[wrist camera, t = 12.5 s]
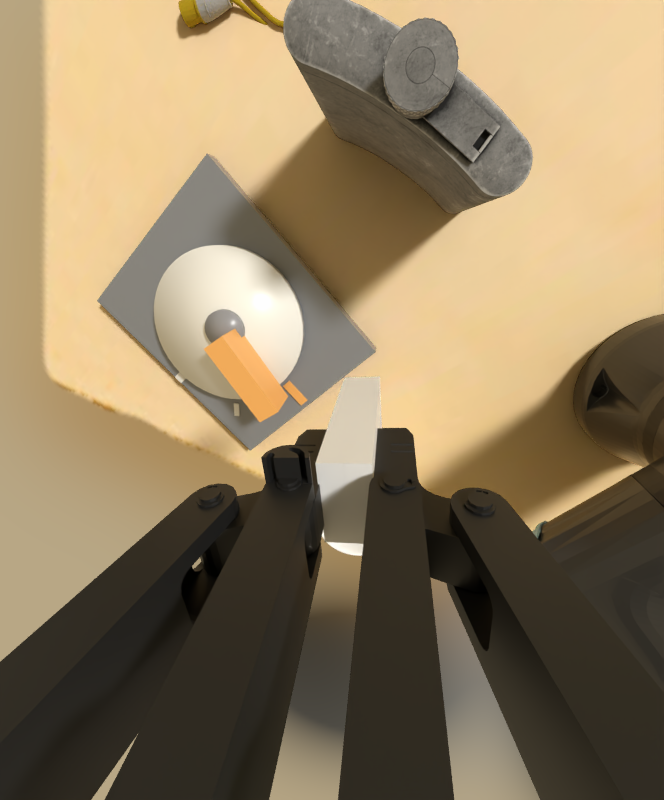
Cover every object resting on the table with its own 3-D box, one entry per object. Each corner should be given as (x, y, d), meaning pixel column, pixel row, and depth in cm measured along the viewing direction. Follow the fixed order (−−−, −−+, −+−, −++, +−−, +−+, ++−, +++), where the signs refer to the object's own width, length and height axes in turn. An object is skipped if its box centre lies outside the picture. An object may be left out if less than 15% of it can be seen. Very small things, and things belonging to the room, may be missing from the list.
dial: (131, 301, 40) (96, 310, 35) (240, 209, 34) (217, 204, 30) (231, 427, 44) (212, 449, 40) (341, 362, 39) (334, 379, 34)
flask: (347, 82, 31) (296, -90, 15) (484, 180, 32) (578, 122, 16) (325, 128, 33) (258, 19, 16) (457, 220, 34) (518, 204, 18)
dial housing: (376, 347, 40) (375, 352, 38) (254, 444, 47) (249, 451, 46) (214, 156, 35) (206, 153, 33) (106, 298, 42) (95, 300, 41)
